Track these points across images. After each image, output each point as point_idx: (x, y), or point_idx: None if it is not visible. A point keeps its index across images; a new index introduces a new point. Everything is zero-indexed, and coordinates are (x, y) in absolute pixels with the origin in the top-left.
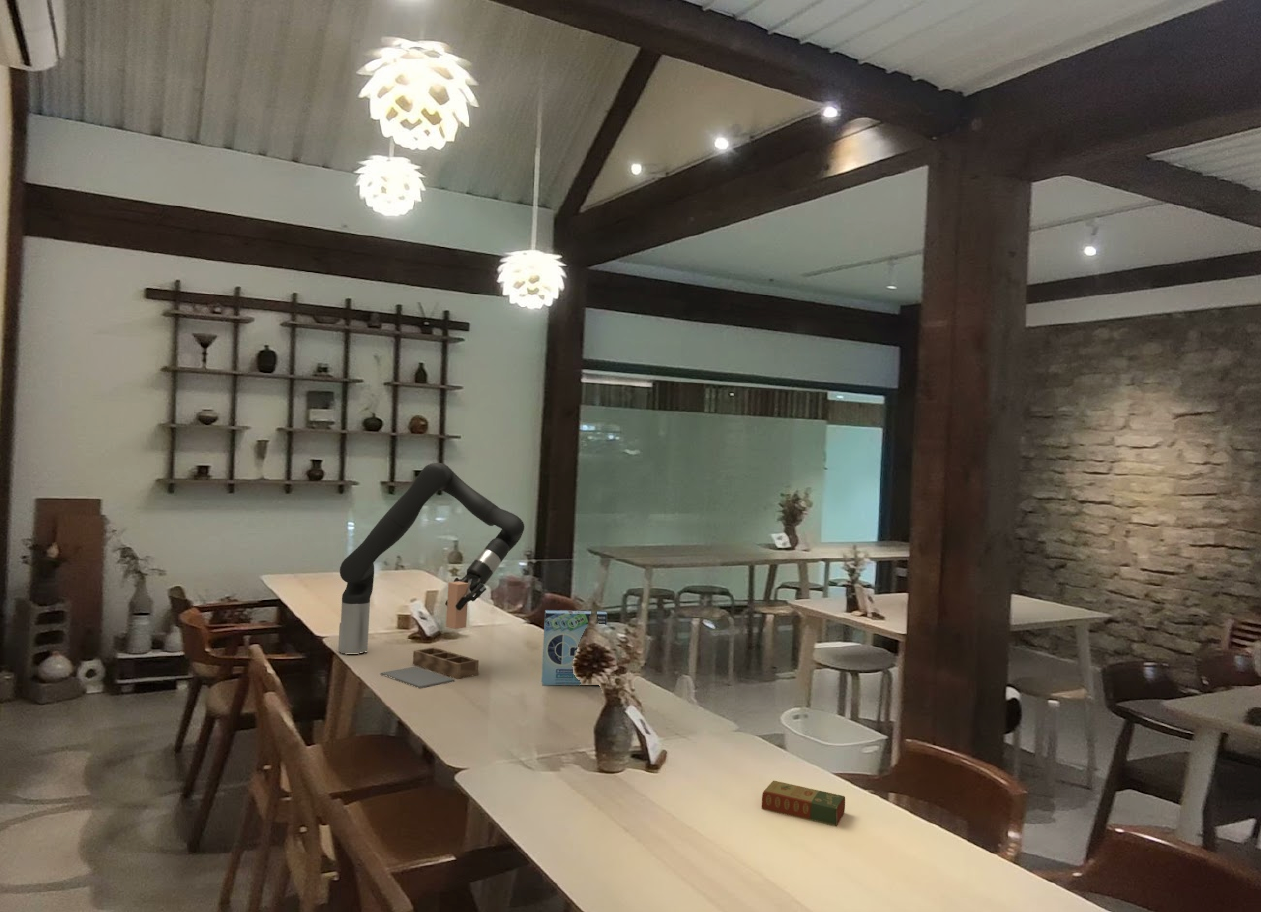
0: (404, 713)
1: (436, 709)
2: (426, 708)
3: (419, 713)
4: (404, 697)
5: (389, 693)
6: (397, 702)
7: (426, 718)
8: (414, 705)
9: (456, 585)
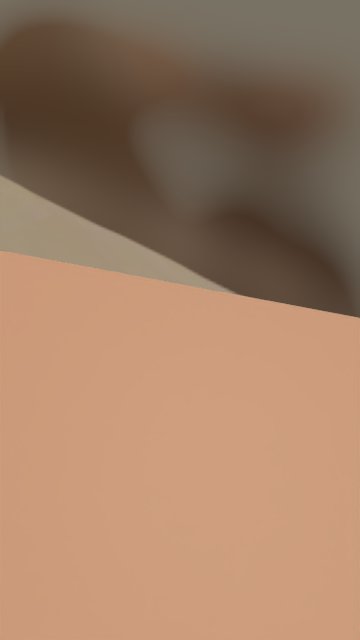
0: (57, 205)
1: (12, 243)
2: (35, 238)
3: (31, 215)
4: (120, 265)
5: (166, 268)
6: (110, 238)
7: (4, 204)
8: (68, 240)
9: (38, 279)
